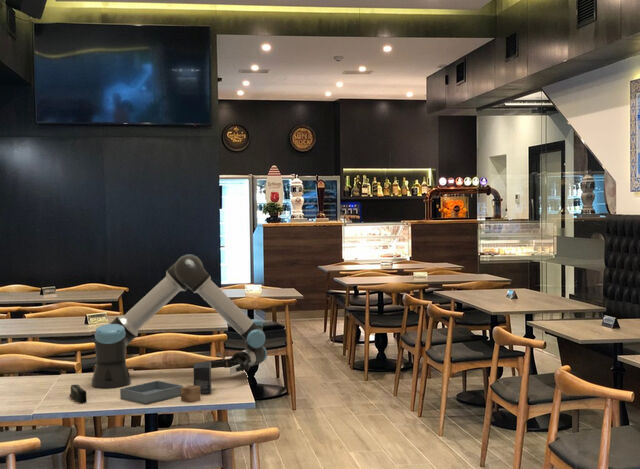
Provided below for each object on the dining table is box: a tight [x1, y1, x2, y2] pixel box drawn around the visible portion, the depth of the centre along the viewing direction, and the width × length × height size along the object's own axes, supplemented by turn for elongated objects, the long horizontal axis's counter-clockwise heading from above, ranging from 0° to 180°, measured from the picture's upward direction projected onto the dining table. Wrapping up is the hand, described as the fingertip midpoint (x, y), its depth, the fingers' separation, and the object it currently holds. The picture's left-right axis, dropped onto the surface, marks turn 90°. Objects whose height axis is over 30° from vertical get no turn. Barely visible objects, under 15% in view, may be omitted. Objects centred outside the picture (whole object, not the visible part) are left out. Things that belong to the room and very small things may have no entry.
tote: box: [119, 380, 184, 405], centre depth 285 cm, size 15×17×4 cm
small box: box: [192, 361, 213, 395], centre depth 293 cm, size 11×6×10 cm, turn 6°
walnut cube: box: [180, 384, 202, 403], centre depth 279 cm, size 5×5×5 cm
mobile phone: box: [69, 384, 88, 404], centre depth 284 cm, size 5×3×15 cm
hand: (216, 369), depth 302 cm, fingers open, 13 cm apart
